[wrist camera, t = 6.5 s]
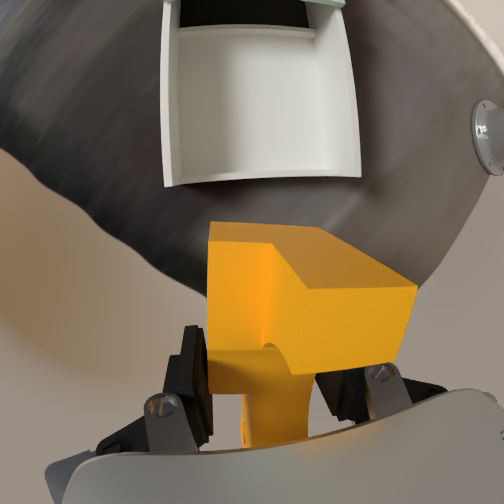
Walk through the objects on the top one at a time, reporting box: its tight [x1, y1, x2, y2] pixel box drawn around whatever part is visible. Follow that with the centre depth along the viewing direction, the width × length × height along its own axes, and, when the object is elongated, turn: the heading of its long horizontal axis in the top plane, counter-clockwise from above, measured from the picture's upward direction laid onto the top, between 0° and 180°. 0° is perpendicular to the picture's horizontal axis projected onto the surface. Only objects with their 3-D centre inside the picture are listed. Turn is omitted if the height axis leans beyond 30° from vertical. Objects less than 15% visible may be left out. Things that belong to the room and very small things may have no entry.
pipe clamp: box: [207, 222, 418, 448], centre depth 9 cm, size 12×4×6 cm, turn 176°
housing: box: [160, 0, 361, 187], centre depth 19 cm, size 15×32×7 cm, turn 3°
